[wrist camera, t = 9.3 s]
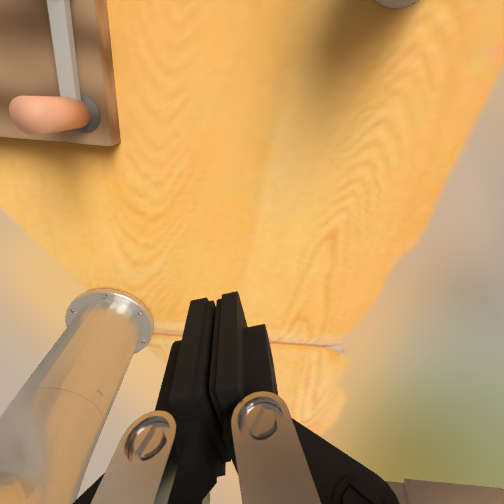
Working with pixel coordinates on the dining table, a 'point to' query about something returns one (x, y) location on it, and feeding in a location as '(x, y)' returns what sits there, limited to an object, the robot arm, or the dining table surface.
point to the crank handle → (69, 103)
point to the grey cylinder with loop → (396, 3)
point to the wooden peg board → (45, 73)
